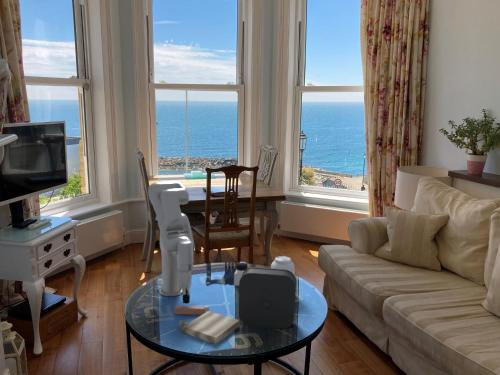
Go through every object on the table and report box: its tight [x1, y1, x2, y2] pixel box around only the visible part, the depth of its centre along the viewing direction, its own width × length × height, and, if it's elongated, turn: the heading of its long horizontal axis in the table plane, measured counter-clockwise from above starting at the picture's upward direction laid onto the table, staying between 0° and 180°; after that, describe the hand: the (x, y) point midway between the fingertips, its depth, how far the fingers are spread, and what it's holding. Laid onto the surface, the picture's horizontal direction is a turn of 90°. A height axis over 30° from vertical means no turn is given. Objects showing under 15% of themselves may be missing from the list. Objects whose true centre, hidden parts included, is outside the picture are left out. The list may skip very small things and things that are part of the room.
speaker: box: [238, 266, 297, 329], centre depth 197 cm, size 25×9×25 cm, turn 82°
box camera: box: [233, 261, 248, 287], centre depth 243 cm, size 7×7×12 cm
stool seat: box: [178, 310, 240, 345], centre depth 193 cm, size 21×18×4 cm
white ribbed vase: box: [270, 255, 296, 275], centre depth 230 cm, size 12×12×20 cm
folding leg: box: [173, 305, 210, 316], centre depth 207 cm, size 16×3×4 cm, turn 89°
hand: (186, 302), depth 212 cm, fingers closed
